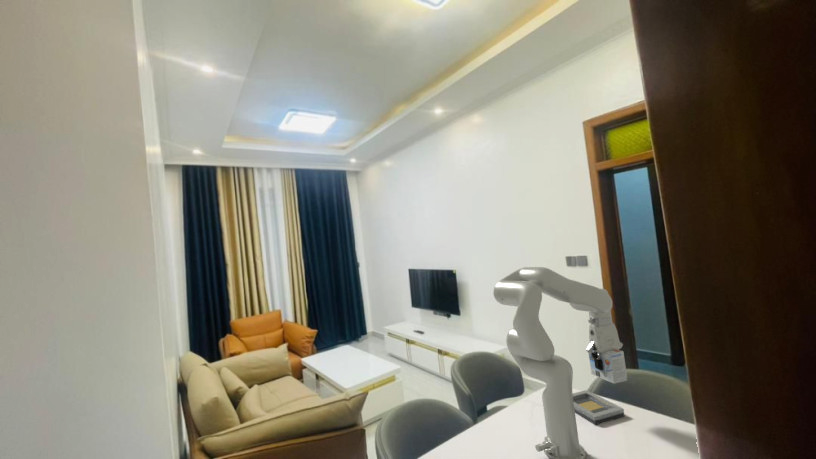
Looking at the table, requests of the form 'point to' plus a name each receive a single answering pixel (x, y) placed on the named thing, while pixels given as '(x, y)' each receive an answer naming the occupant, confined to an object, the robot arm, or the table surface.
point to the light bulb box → (610, 366)
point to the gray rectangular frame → (595, 408)
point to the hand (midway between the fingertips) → (607, 367)
